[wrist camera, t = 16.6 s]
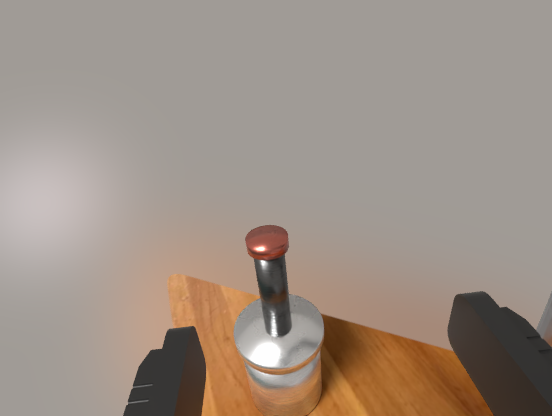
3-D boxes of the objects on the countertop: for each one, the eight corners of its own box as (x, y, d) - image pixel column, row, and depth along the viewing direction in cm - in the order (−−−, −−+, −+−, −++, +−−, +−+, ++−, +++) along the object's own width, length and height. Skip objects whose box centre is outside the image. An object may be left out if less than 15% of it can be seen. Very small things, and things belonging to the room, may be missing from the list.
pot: (316, 348, 47) (313, 297, 42) (330, 418, 39) (329, 364, 34) (249, 357, 47) (239, 306, 42) (249, 428, 38) (236, 376, 34)
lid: (315, 296, 42) (310, 205, 36) (333, 367, 34) (330, 263, 27) (236, 306, 42) (217, 216, 36) (233, 379, 33) (207, 278, 27)
